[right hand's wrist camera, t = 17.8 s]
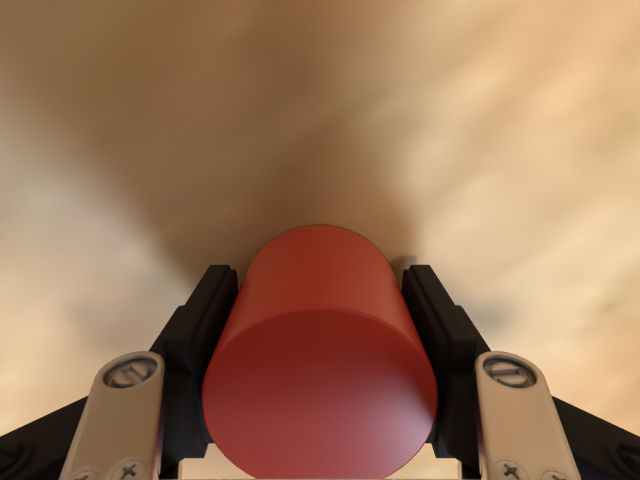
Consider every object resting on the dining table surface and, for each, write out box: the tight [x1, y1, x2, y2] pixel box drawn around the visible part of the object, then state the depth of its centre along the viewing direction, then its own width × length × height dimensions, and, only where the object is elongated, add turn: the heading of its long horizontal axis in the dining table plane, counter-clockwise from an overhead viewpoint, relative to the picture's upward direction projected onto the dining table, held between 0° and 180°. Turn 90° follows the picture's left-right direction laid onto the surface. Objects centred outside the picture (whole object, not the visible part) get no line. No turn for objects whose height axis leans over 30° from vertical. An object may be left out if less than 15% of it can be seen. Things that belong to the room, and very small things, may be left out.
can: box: [201, 225, 438, 479], centre depth 10 cm, size 5×5×5 cm
